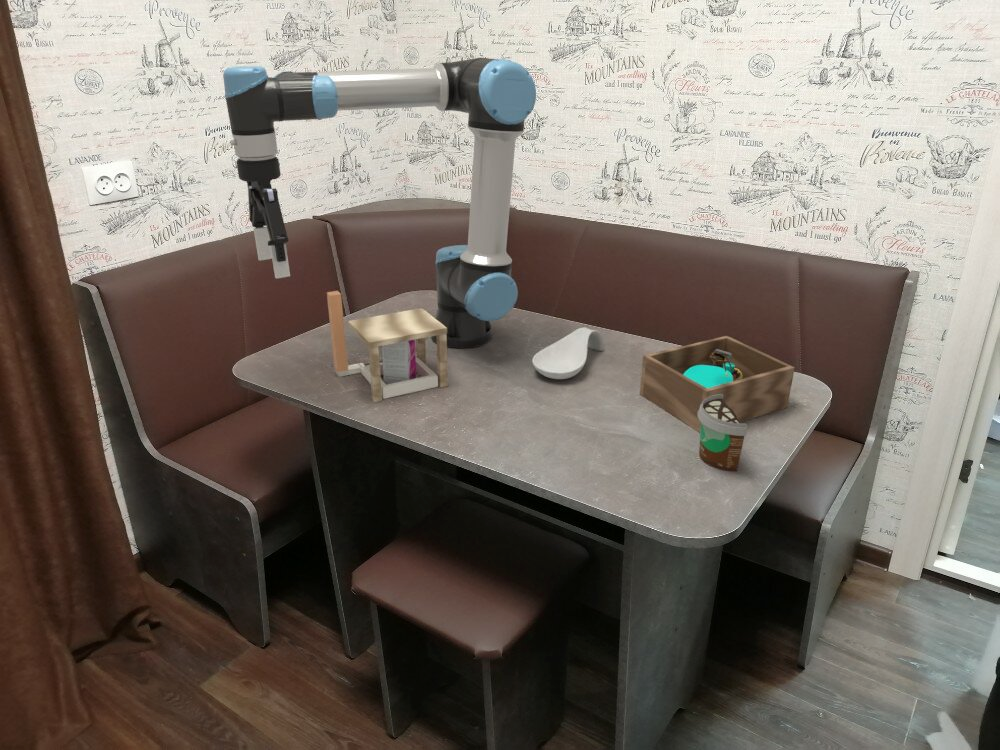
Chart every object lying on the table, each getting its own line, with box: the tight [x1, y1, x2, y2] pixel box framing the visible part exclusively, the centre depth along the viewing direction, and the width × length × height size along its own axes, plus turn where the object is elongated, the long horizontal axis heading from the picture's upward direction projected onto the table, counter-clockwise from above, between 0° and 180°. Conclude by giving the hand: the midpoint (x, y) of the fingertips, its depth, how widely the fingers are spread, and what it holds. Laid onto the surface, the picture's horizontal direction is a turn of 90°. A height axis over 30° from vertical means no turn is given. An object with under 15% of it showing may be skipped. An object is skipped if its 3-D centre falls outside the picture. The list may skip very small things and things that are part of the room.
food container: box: [697, 394, 748, 472], centre depth 132 cm, size 12×6×10 cm, turn 5°
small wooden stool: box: [348, 307, 449, 403], centre depth 160 cm, size 17×14×14 cm
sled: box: [326, 290, 439, 400], centre depth 160 cm, size 18×17×19 cm
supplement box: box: [381, 339, 417, 385], centre depth 161 cm, size 6×6×12 cm
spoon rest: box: [531, 326, 605, 380], centre depth 170 cm, size 24×12×7 cm, turn 146°
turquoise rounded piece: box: [683, 349, 743, 388], centre depth 151 cm, size 14×18×15 cm
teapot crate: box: [639, 335, 796, 434], centre depth 153 cm, size 23×19×9 cm
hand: (273, 268), depth 147 cm, fingers open, 13 cm apart
